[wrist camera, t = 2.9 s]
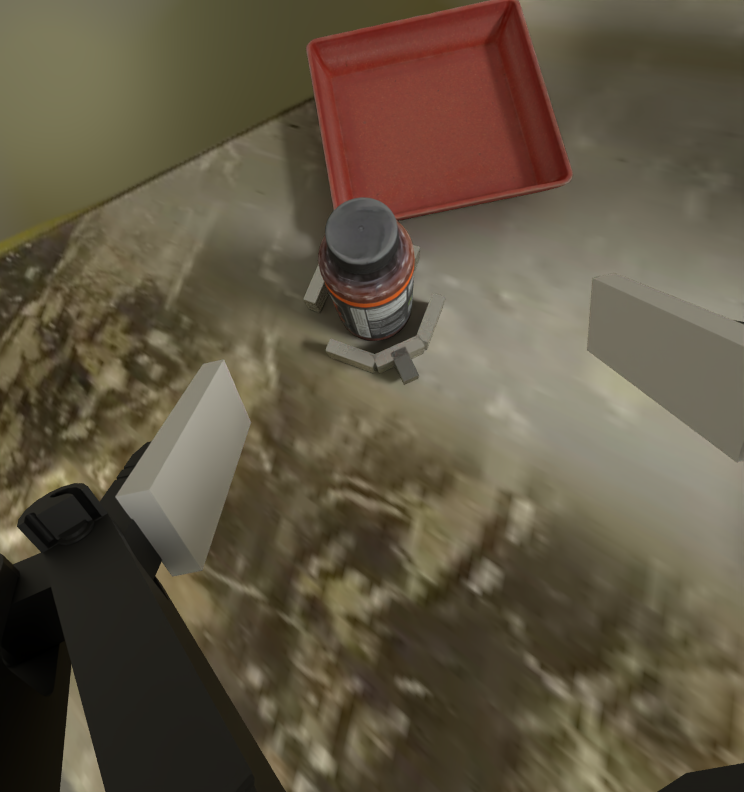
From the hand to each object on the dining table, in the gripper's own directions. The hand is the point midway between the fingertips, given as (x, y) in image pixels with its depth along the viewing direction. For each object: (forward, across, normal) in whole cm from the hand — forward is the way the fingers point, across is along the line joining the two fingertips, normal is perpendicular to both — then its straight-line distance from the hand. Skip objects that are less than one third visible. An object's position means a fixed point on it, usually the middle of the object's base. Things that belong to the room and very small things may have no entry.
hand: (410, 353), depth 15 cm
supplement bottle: (+19, +1, +4) cm, 19 cm away
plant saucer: (+28, -7, -6) cm, 30 cm away
